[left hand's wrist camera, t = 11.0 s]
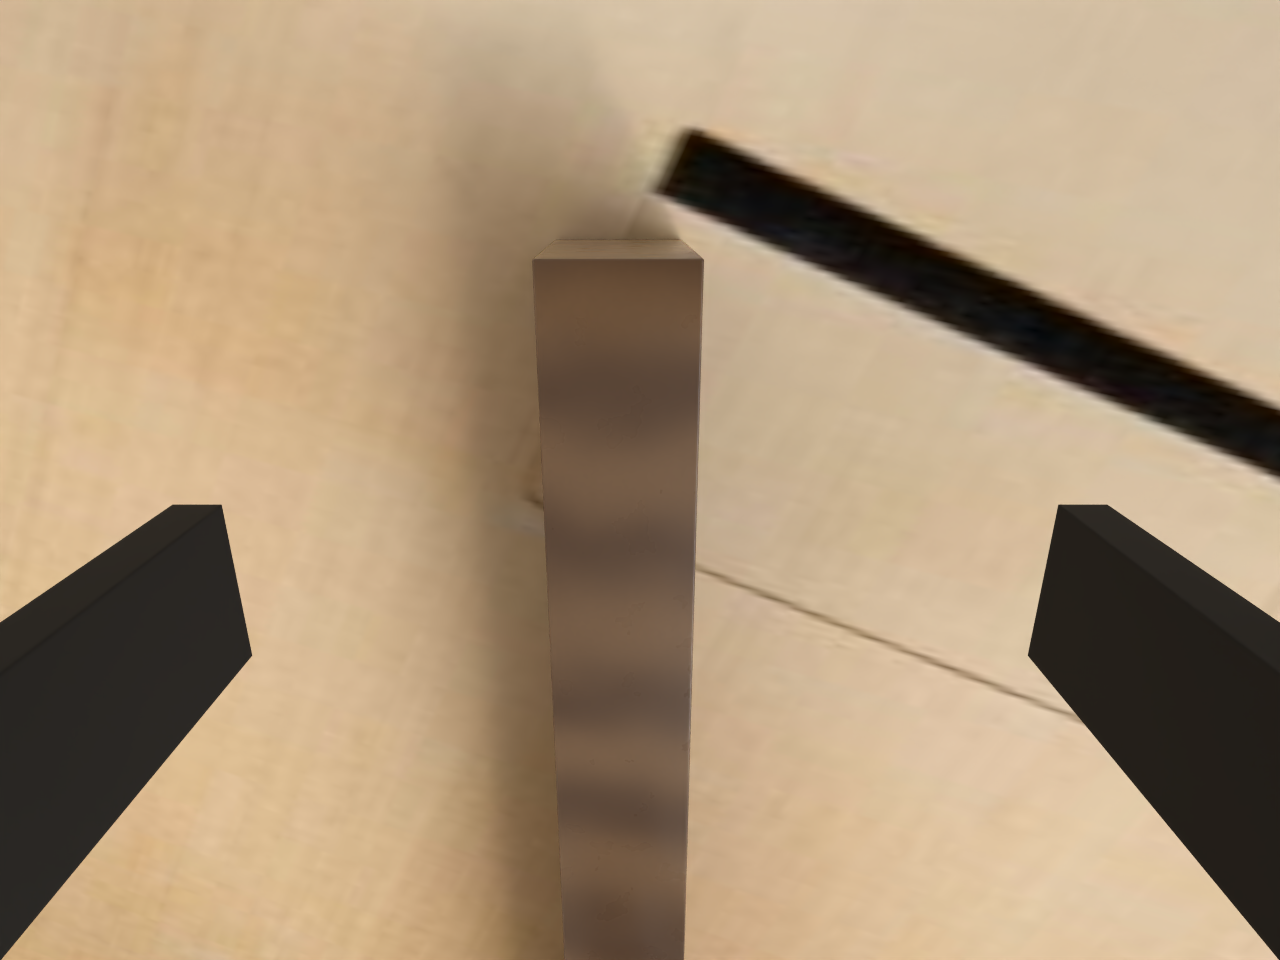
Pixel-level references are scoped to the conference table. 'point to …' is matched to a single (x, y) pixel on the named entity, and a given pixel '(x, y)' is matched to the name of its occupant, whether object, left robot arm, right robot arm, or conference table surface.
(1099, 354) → the conference table surface
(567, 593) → the beam
